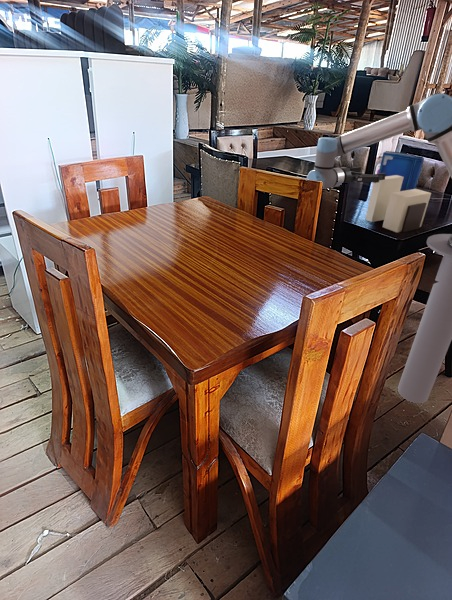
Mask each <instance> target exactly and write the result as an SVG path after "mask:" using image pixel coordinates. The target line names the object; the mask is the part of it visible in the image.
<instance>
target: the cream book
mask: <svg viewBox="0 0 452 600" xmlns="http://www.w3.org/2000/svg"><path fill="white" fill-rule="evenodd" d="M403 178H404V177H402V176H398V175H393V176H385V180H379V182H378V183H377V182H376V183H373V182H372V186H373V187H371V191H370V196H369V201H368V205H367V208H366V209H367V210H366V214H365V217H364V220H365V221H367V222H369V223H375V222H380V221H384V219H385V215H386V211H387V207H388V203H389V199H390V195H391V193H392V192H399V191H400V189H401V185H402V182H403Z"/></svg>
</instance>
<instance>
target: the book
mask: <svg viewBox="0 0 452 600" xmlns="http://www.w3.org/2000/svg"><path fill="white" fill-rule="evenodd" d="M424 161H425V158H424V156H418V155H415V154H412V153H406V152H400V151H392V150H391V151H390V150H385V151H384V152H383V153H382V157H381V161H380V163H379V164H380V169H379V173H378V174H380V173H386V176H393V175H398V176H402V177H404V178H403V182H402V185H401V189H400V191H405V190H411V189H417V188H416V187H417V185H418V181H419V177H420V174H421V171H422V167H423V165H424Z"/></svg>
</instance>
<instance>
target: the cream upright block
mask: <svg viewBox="0 0 452 600" xmlns="http://www.w3.org/2000/svg"><path fill="white" fill-rule="evenodd" d="M431 195H432V192H430V191H425V190H422V189H418V188H415V189H411V190H405V191H399V192H392V193H391V195H390V199H389V203H388V207H387V211H386V215H385V219H384V220H383V223H382V228H384V229H386V230H389V231H392V232H394V233H406V232H409V231H414V230H419V229H420V228H421V227H422V225H423V222H424V220H425V219H424V218H425V216H426V212H427V210H428V209H427V208H428V206H429V201H430V199H431Z"/></svg>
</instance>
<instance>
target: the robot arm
mask: <svg viewBox="0 0 452 600" xmlns="http://www.w3.org/2000/svg"><path fill="white" fill-rule="evenodd" d="M420 130H421V131H422V132H423V134H424V136H425V138H426V141H427V142H428V143H429V144H433V145H435V147H436V149H437V152H438V153H439V156H440V157H441V160H442V162H443V164H444V166H445V168H446V170H447V172H448V174H449V176H450V178H451V179H452V96H451V95H449V94H447V93H440V92H439V93H438V92H437V93H433V94H430V95H428V96H427V97H425V98H423V99H422V100H420V101H418V102H416V103H414V104H411V105H409V106H408V107H407V109H405V110H403V111H400V112H398V113H396V114H393V115H390V116H388V117H385V118H383V119H380V120H378V121H375V122H372V123H370V124H367V125H364V126H361V127H359V128H356V129H354V130H352V131H348V132H347V133H344V134H341V135H339V136H337V137H327V136H326V137H325V136H324V137H323V136H322V137H320V138H318V140H317V145H316V153H315V160H314V167H313V169H312V170H310V171H309V172H308V174H307V175H306V180H307V179H309V180H314V181H322V182H323V188H322V189H321V190H323V189H330V188H331V189H334V188H335V187H337V188H338V187H341V186H340V185H342V183H348V184H347V185H349V184H350V183H351V182H352V183H353V182H356V183H373V182H374V183H376V182H377V183H378V182H379V180H385V176H386V173H380V174H375V173H374V174H367V173H362V172H361V171H362V166H356V167H355V166H354V167H351V166H350V165H347V166H342V167H334V165H335V160H336V158H338V157H341V156H343V155H346V154H348V153H351V152H353V151H354V152H355V151H357V150H359V149H362V148H365V147H368V146H371V145H373V144H377V143H379V142H383V141H385V140H388V139H391V138H393V137H397V136H399V135H402V134H404V133H407V132H414V133H415V132H418V131H420ZM337 181H338V182H337ZM447 245H448V246H450V247H451V248H452V235H451V236H450V237H449V239H448V242H447Z"/></svg>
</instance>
